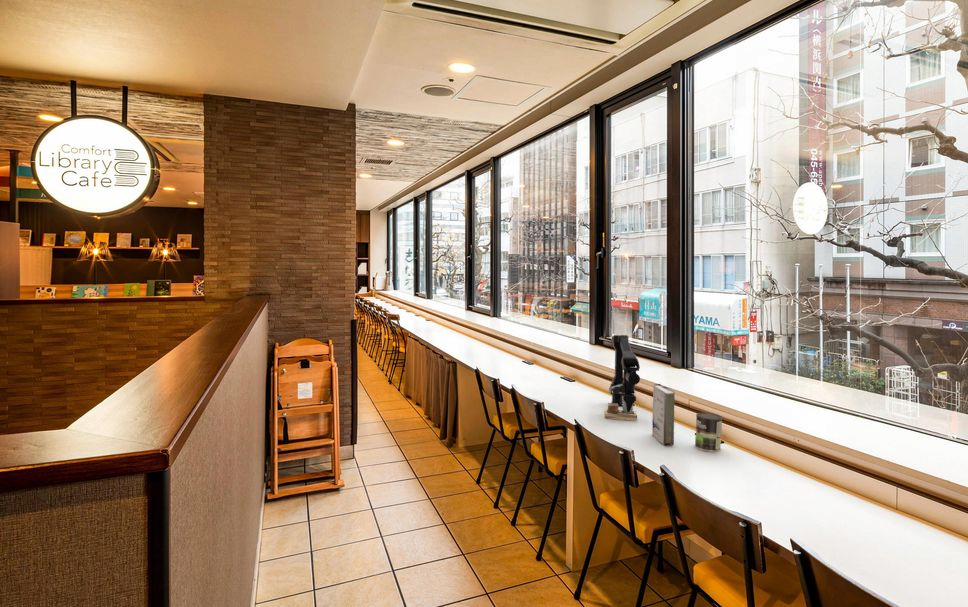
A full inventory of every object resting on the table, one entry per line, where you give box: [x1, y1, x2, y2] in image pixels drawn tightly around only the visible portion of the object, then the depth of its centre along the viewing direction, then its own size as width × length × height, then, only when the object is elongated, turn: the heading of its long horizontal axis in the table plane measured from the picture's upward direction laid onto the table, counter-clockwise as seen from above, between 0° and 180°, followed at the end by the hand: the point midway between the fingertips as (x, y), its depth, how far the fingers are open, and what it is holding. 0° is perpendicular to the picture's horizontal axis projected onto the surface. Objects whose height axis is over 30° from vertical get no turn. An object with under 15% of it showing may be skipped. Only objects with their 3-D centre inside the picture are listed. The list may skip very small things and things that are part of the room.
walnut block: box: [607, 402, 619, 414], centre depth 265 cm, size 5×5×5 cm
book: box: [651, 383, 676, 446], centre depth 228 cm, size 16×6×24 cm, turn 178°
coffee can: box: [694, 412, 723, 453], centre depth 219 cm, size 10×10×14 cm
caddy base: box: [603, 408, 638, 421], centre depth 264 cm, size 9×16×2 cm, turn 78°
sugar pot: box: [622, 400, 634, 414], centre depth 263 cm, size 5×5×7 cm
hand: (627, 410), depth 263 cm, fingers open, 5 cm apart
